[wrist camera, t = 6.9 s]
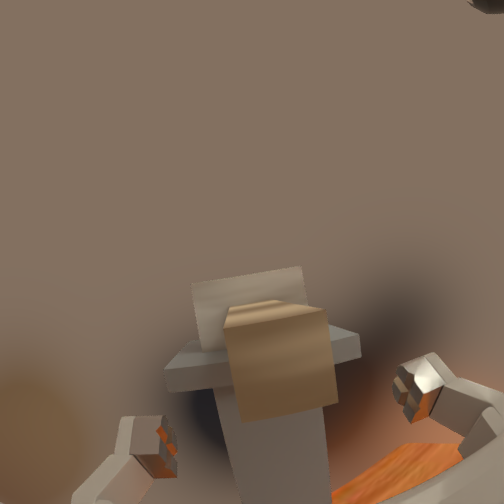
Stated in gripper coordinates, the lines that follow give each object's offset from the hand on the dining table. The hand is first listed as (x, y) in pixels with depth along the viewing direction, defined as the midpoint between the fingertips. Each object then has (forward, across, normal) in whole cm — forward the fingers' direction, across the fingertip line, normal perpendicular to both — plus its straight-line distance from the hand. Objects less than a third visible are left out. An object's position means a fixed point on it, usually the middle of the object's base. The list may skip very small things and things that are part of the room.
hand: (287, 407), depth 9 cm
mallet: (+7, 0, +4) cm, 8 cm away
